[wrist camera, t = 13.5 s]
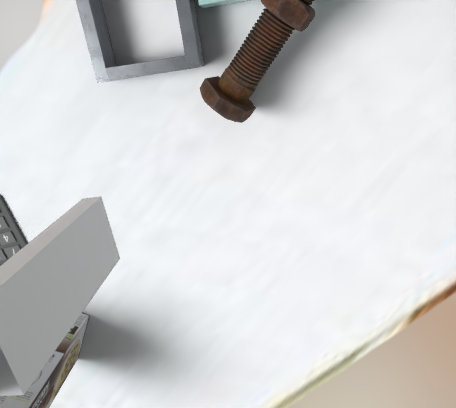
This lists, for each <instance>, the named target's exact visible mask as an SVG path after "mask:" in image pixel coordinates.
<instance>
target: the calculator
mask: <svg viewBox="0 0 456 408" xmlns="http://www.w3.org/2000/svg"><path fill="white" fill-rule="evenodd" d="M26 245H27V242H26V240H25V238H24V237H23V235H22V233H21V231H20V229H19V227H18V225H17V224H16V222H15V220H14V218H13V216H12V214H11V213H10V211H9V209H8V207H7V205H6V203H5V201H4V200H3V198H2V196H1V195H0V266H1V265H2V264H4V263H5V262H6V261H7V260H8V259H10V258H11V257H12V256H13V255H15V254H16V253H17V252H18V251H19V250H21V249H22V248H23V247H24V246H26Z"/></svg>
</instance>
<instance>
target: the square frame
mask: <svg viewBox="0 0 456 408" xmlns="http://www.w3.org/2000/svg"><path fill="white" fill-rule="evenodd" d="M76 3H77V7H78V11H79V14H80V18H81V22H82V26H83V30H84V34H85V38H86V41H87V45H88V49H89V53H90V57H91V61H92V65H93V68H94V72H95V76H96V80H97V83H99V82H106V81H112V80H119V79H126V78H132V77H139V76H145V75H152V74H158V73H165V72H171V71H178V70H184V69H191V68H197V67H202V66H204V61H203V54H202V48H201V42H200V35H199V29H198V22H197V16H196V10H195V3H194V0H176V5H177V11H178V16H179V22H180V28H181V34H182V39H183V45H184V51H185V56H180V57H174V58H167V59H161V60H155V61H148V62H142V63H136V64H129V65H123V66H117V67H116V63H115V58H114V54H113V50H112V46H111V42H110V37H109V33H108V29H107V25H106V21H105V16H104V12H103V8H102V4H101V0H76Z"/></svg>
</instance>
